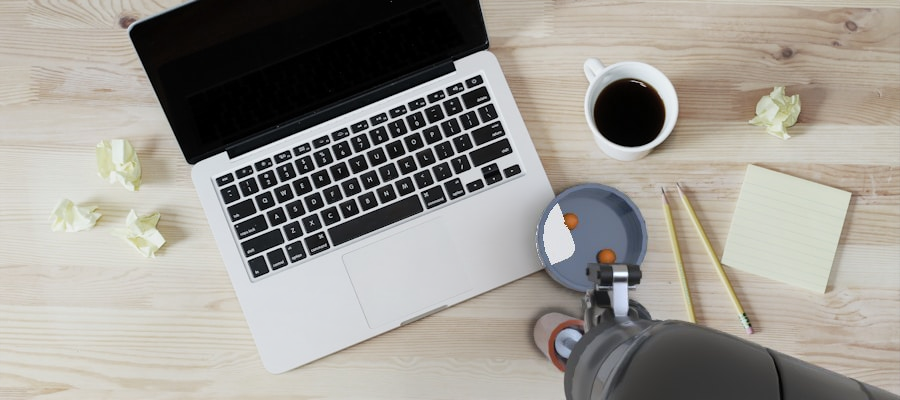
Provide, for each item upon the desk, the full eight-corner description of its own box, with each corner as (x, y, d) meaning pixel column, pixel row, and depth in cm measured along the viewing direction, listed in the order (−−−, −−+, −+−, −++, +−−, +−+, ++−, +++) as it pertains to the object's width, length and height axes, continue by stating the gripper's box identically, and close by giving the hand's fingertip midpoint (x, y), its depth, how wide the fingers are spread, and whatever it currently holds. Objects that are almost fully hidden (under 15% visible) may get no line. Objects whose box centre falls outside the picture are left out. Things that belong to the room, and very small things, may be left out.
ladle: (584, 358, 73) (621, 384, 53) (553, 358, 73) (579, 384, 53) (583, 327, 73) (620, 341, 53) (552, 327, 73) (578, 341, 54)
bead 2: (614, 266, 87) (617, 265, 85) (597, 266, 87) (600, 265, 85) (614, 249, 87) (617, 248, 85) (596, 249, 87) (599, 248, 85)
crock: (576, 355, 87) (604, 375, 67) (533, 355, 87) (548, 375, 67) (575, 312, 87) (602, 319, 67) (533, 312, 87) (547, 319, 68)
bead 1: (577, 230, 88) (579, 229, 86) (560, 230, 88) (562, 229, 86) (576, 213, 88) (579, 212, 86) (560, 213, 88) (561, 212, 86)
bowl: (640, 291, 87) (649, 291, 82) (535, 292, 88) (538, 292, 83) (636, 188, 89) (645, 183, 84) (533, 190, 89) (536, 184, 84)
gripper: (568, 256, 39) (543, 265, 55) (576, 537, 38) (548, 462, 54) (712, 255, 39) (645, 264, 55) (725, 538, 37) (652, 462, 53)
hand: (597, 362), depth 54 cm, fingers open, 8 cm apart
